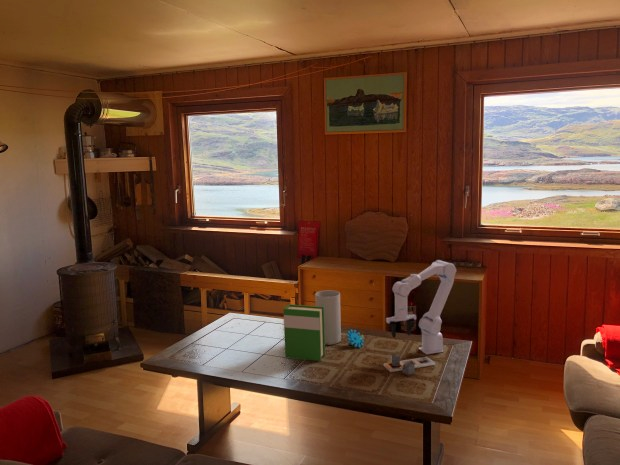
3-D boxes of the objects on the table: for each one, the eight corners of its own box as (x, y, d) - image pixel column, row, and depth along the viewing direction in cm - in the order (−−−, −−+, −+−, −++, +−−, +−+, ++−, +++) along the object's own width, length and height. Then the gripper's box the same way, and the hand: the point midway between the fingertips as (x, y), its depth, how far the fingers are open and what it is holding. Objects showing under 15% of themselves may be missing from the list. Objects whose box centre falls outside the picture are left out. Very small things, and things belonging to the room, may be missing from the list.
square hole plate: (427, 359, 237) (427, 356, 237) (435, 364, 230) (435, 362, 230) (383, 366, 231) (383, 363, 231) (390, 372, 224) (390, 369, 224)
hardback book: (325, 355, 245) (323, 306, 242) (320, 361, 238) (319, 311, 235) (290, 351, 251) (289, 304, 247) (285, 357, 244) (283, 308, 240)
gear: (353, 347, 249) (344, 329, 254) (347, 353, 252) (338, 336, 257) (369, 344, 256) (360, 327, 261) (362, 350, 260) (353, 333, 265)
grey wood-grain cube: (408, 370, 225) (408, 362, 225) (414, 373, 222) (414, 365, 222) (402, 372, 223) (402, 364, 223) (408, 375, 220) (408, 366, 220)
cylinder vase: (320, 346, 256) (318, 298, 252) (314, 337, 268) (312, 291, 264) (344, 343, 259) (343, 295, 255) (337, 335, 271) (336, 289, 267)
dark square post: (398, 366, 230) (398, 353, 229) (399, 369, 227) (399, 356, 226) (390, 366, 230) (390, 353, 229) (391, 369, 227) (391, 356, 226)
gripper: (411, 303, 242) (411, 330, 244) (383, 307, 238) (383, 334, 240) (418, 307, 236) (418, 335, 238) (389, 311, 232) (389, 340, 234)
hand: (401, 335), depth 239 cm, fingers open, 7 cm apart
